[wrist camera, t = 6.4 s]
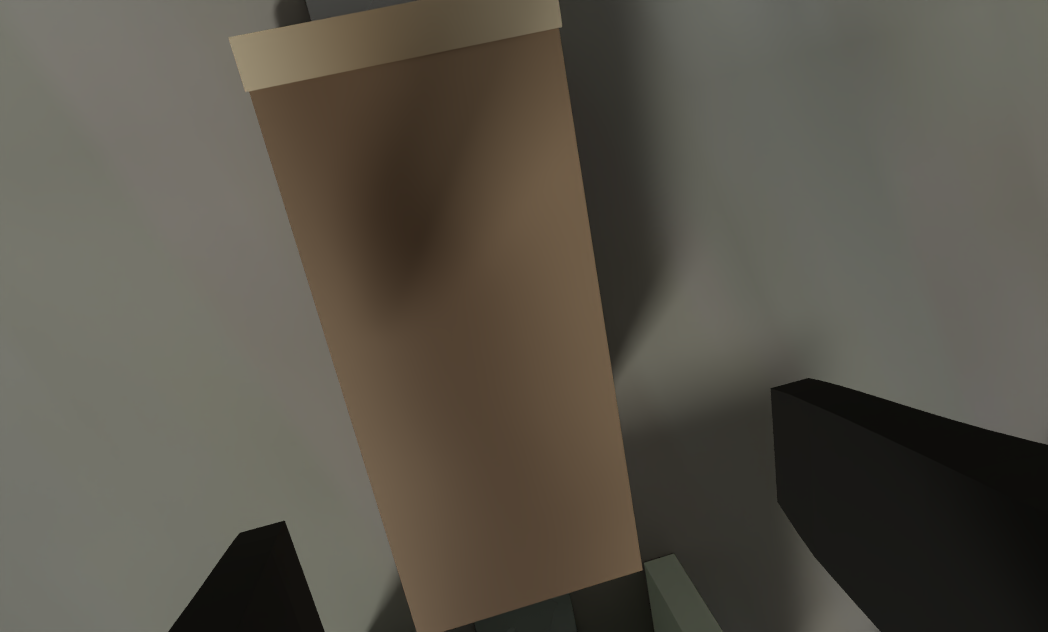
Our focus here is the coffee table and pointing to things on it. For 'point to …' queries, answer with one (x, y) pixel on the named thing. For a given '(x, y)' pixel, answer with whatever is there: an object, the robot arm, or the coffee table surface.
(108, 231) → the coffee table surface
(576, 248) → the brown rectangular box
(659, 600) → the tunnel
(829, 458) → the robot arm
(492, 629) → the rail
